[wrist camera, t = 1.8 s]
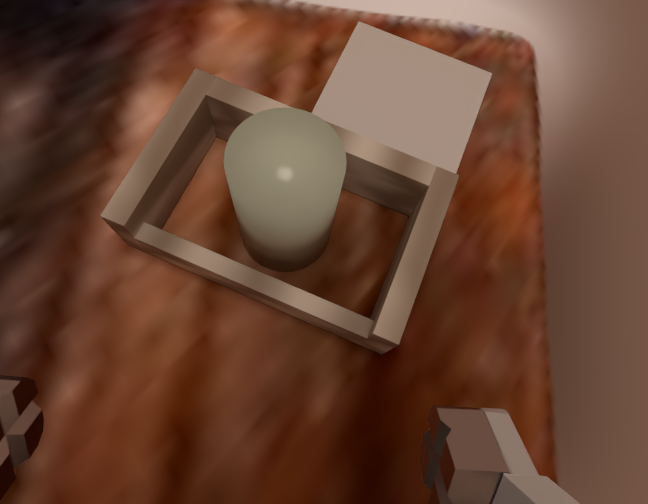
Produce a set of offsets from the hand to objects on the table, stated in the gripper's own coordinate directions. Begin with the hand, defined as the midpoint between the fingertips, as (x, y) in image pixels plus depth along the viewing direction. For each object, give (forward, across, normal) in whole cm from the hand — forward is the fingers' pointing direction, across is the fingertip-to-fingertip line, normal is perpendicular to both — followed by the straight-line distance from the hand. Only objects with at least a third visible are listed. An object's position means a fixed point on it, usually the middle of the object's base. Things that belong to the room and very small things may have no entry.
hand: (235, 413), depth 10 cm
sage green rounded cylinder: (+24, 0, +6) cm, 25 cm away
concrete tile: (+32, -8, -2) cm, 33 cm away
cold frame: (+24, 0, +6) cm, 25 cm away
